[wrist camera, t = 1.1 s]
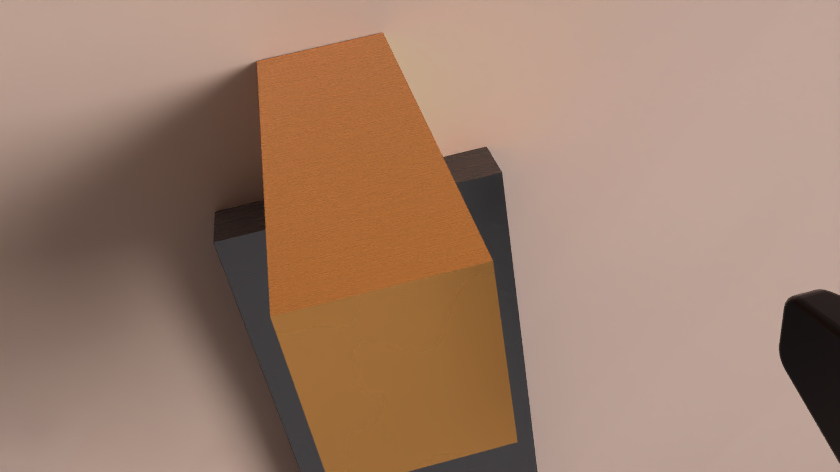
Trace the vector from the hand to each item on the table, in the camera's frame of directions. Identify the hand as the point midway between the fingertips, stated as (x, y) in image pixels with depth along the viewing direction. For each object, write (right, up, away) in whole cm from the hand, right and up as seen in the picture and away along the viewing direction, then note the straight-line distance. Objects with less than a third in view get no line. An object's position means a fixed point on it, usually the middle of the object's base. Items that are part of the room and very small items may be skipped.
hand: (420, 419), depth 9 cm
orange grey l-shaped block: (-1, -1, +11) cm, 11 cm away
